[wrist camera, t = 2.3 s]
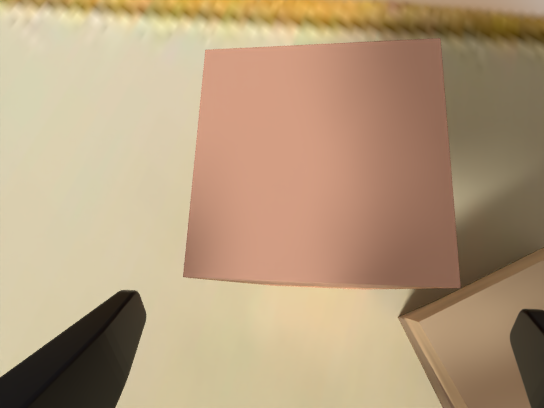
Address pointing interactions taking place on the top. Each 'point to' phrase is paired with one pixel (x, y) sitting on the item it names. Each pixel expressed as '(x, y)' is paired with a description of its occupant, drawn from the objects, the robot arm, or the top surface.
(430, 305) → the tower top
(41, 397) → the robot arm
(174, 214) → the top surface
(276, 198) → the pillar
